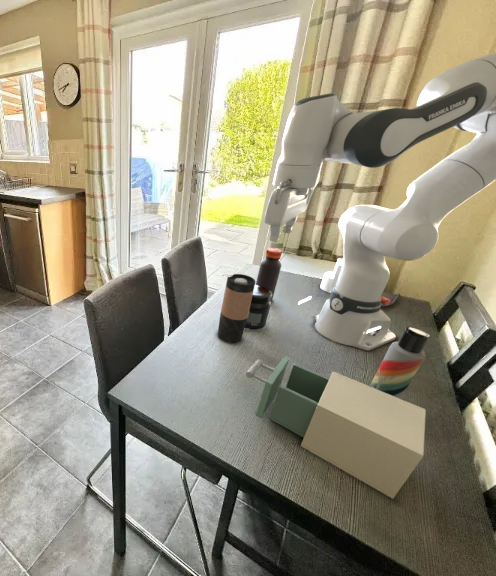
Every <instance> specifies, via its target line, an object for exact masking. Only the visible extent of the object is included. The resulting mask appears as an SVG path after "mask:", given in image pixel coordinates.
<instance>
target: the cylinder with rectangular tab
mask: <svg viewBox="0 0 496 576" xmlns="http://www.w3.org/2000/svg"><path fill="white" fill-rule="evenodd" d="M342 263H343V258H339V257H338V258H337V260H336V263H335V266H334V269H333V271H326V272H324V274H323V277H322V280H321V283H320V286H319V288H320V289H321V290H322V291H324V292H325V293H329V294H330V293H331V291H332V289H333V288H334V287H335V286H336V283H337V280H338V277H339V274H340V271H341V268H342Z"/></svg>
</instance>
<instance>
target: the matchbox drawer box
mask: <svg viewBox="0 0 496 576" xmlns="http://www.w3.org/2000/svg"><path fill="white" fill-rule="evenodd" d="M329 378H330V379H329V381H328V383H327V385H326V388H325V390H324V392H323V394H322V396H321V399H320V401H319V403H318V405H317V408H316V410H315V412H314V415H313V417H312V419H311V422H310V424H309V427H308V429H307V431H306V434H305V436H304V438H303V439H302V441H301V443H300V447H302V448H304V449H305V450H307V451H308V452H310V453H312V454H314V455H316V456H317V457H319V458H321V459H322V460H325V461H326V462H328V463H329V464H331V465H333V466H335V467H336V468H338V469H340V470H342V471H344V472H345V473H347V474H348V475H350V476H352V477H353V478H356V479H357V480H359V481H361V482H363V484H366V485H368V486H370V487H371V488H373V489H374V490H377V491H378V492H380V493H381V494H383V495H385V496H387V497H389V498H391V499H393V500H394V499H395V497H396V495H397V494H398V493H399V491H400V490H401V488H402V487H403V486H404V485H405V483H406V482H407V481H408V478H410V476H411V475H412V473H413V472H414V470H415V469H416V467H417V466H418V465H419V463H420V462H421V460H422V459H423V458H424V454H425V453H424V451H425V434H426V433H425V432H426V414H427V413H426V411H427V409H426V408H423V407H422V406H421V407H420V406H418V405H416V404H414V403H411V402H409V401H407V400H405V399H404V400H403V399H402V398H401V399H399V398H396V397H394V396H392V395H389V394H387V393H384V392H382V391H379V390H377V389H375V388H372V387H370V385H368V384H365V383H362V382H360V381H358V380H355V379H353V378H350V377H348V376H345V375H343V374H340V373H338V372H335V371H332V373H331V374H330V376H329Z"/></svg>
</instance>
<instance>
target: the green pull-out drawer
mask: <svg viewBox="0 0 496 576" xmlns="http://www.w3.org/2000/svg"><path fill="white" fill-rule="evenodd" d="M289 361H290V358H289V357H287V356H283V357H282V358H281V360H280V361H279V362H278V364H277V365H276V366H275V368H274V367H272V366H270V365H267V364H265V363H264V362H263V360H261V359H256V360H255V361H254V363H253V364H252V365H251V366H250V367H249V369H248V370H247V371H246V372H245V376H246V377H247V378H249V379H252V378H254V379H256V380H258V381H259V382H261V383H264V387H263V389H262V393H261V398H260V400H259V404H258V406H257V410H256V413H255V415H256V416H257V417H259V418H261V419H262V418H263V416H264V415H265V413H266V412H267V410H268V409H269V407H270V406H271V403H272V402H273V400H274V403H273V406H272V408H271V411H270V413H269V414H270V415H269V417H268V419H269V420H271V421H273V422H274V423H276V424H278V425H280V426H282V427H284V428H285V429H287V430H288V431H290V432H293V433H295V434H296V435H298V436H300V437H301V438H303V439H304V436H305V434H306V431H307V429H308V427H309V424H310V422H311V419H312V417H313V415H314V412H315V410H316V408H317V405H318V403H319V401H320V399H321V396H322V394H323V392H324V390H325V388H326V385H327V383H328V381H329V379H330V377H327V376H325V375H323V374H321V373H318V372H316V371H313V370H312V369H309V368H307V367H304V366H303V365H300V364H297V363H293V365H292V368H291V371H290V374H289V376H288V380H287V383H286V385H282V383H283V380H284V377H285V374H286V370H287V368H288V364H289ZM261 368H263V369H266V370H268V371H270V372H271V374H270V375H269V376H268V378H263V377H262V376H259V375H257V373H258V371H259V370H260V369H261Z"/></svg>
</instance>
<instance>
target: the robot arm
mask: <svg viewBox="0 0 496 576" xmlns="http://www.w3.org/2000/svg"><path fill="white" fill-rule="evenodd" d="M451 128H455V129H457V130H459V131H462V132H472V133H475V134H476V135H475V137H474V138H473V139H472V140H471V141H470V142H469V143H467V144H466V145H464V146H462V147H461V148H459V149H457V150H455V151H454V152H452V153H450V155H448V156H446V157H445V158H444V159H442V160H440V161H439V162H438V163H436V164H435V165H433V167H431V168H430V169H428V170H427V171H425V172H424V173H422V175H420V176H418V177H417V178H416V179H414V180H413V181H412V182H411V183H410V184H409V185H408V187H407V189H406V198H407V199H406V200H405V201H403V203H402V204H401V205H400V206H398V207H397V208H394V209H391V208H388V207H384V206H379V205H375V204H358V205H353V206H351V207H350V208H348V209H347V210H345V211H344V212H343V213H342V214H341V216H340V218H339V220H338V223H337V224H338V225H337V226H338V230H339V232H340V234H341V237H342V259H343V263H342V268H341V271H340V274H339V277H338V280H337V283H336V286H335V287H334V288H333V289H332V291H331V293H329V297H328V298H327V299H326V300H325V302H324V304H323V306H322V308H321V310H320V312H319V314H316V315H315V317H314V318H315V322H314V328H315V330H316V332H318V334H320V335H321V336H323V337H325V338H327V339H328V340H330V341H333V342H335V343H338V344H340V345H341V344H342V345H346V346H349V347H351V346H352V347H355V348H358V349H360V350H364V351H371V350H374V349H376V348H379V347H380V346H383V345H385V344H387V343H391V342H392V341H395V340H396V338H397V336H396V334H395V333H394V332H393V331H391V330H390V327H391V325H392V320H391V318H390V317H389V316H388V315H387V314H386V313H385V311H383V310H382V308H388V307H391V306H393V305H394V304H395V303H396V301H397V300H398V299H399V297H400V296H401V293H399V292H398V293H396V295H397V296H395V297H394V298H393V300H392V301H391V299H390V298H387V297H385V296H382V295H383V294H384V291H385V288H386V286H387V285H388V282H389V280H390V275H391V273H390V268H389V267H388V265H387V262H386V258H390V259H394V260H400V261H405V262H406V261H407V262H409V261H412V262H413V261H415V260H419V259H421V258H423V257H425V256H427V255H428V254H429V253H431V251H432V250H434V248H435V247H436V245H437V243H438V241H439V226H440V225H441V223H442V222H443V220H444V219H445V218H446V217H447V216H448V215H449V214H450V213H451V212H452V211H454V210H455V209H456V208H458V207H459V206H461V205H462V204H463V203H465V202H466V201H468V200H470V199H471V198H472V197H474V196H475V195H476V194H478V193H480V192H481V191H482V190H484V189H485V188H487V187H488V186H490V185H491V184H493V183H494V182H495V181H496V51H495V52H492V53H488V54H484V55H481V56H478V57H475V58H473V59H471V60H467V61H465V62H463V63H460V64H457V65H455V66H452V67H451V68H449V69H447V70H445V71H443V72H441V73H440V74H438V75H436V76H435V77H432V79H430V80H429V81H428V82H427V83H426V84H425V85H424V87H423V88H422V90H421V92H420V94H419V95H418V99H417V101H416V106H414V107H412V108H401V107H393V108H386V109H380V110H374V111H372V110H371V111H361V112H355V111H354V110H351V109H349V108H348V107H346V106H345V105H344V104H343V103H341V101H340V100H339V98H338V95H337V94H336V93H324V94H319V95H314V96H308V97H305V98H302V99H300V100H298V101H297V102H296V103H295V104H294V105H293V107H292V108H291V111H290V113H289V115H288V118H287V121H286V125H285V129H284V132H283V137H282V141H281V153H280V156H279V158H278V160H277V163H276V168H275V171H274V172H275V173H274V177H273V181H272V185H273V186H275V187H277V188H275V189H273V191H271V194H270V197H269V200H268V202H267V206H266V210H265V213H264V219H263V220H264V224H265V225H269V226H270V227H269V228H270V236H269V241H270V242H274V243H276V242H278V241H279V240H281V235H282V233H281V230H282V232H283V233H284V234H290V233H292V232H293V229H294V226H295V225H296V224H295V223H296V222H297V220H298V216H300V215H301V214H303V213H305V212H306V210H307V208H308V206H309V204H310V201H311V199H312V195H313V193H314V190H315V188H316V187H317V185H318V184H319V182H320V178H321V170H322V166H323V164H324V161H326V162H334V163H340V164H349V165H357V166H361V167H364V168H371V169H375V168H380V167H384V166H386V165H388V164H391V163H392V162H394V161H395V160H396V159H398V158H399V157H401V156H402V155H403V154H405V153H406V152H407V151H409V150H410V149H411V148H412V147H414V146H416V145H418V144H419V143H421V142H424V141H425V140H427V139H430V138H432V137H434V136H436V135H438V134H440V133H443V132H445V131H447V130H449V129H451ZM282 228H283V229H282ZM312 298H313V297H312V295H309V296H308V297H306V298H304V299H301V300H299V301H298V303H297V305H301V304H303V303H305V302H308V301H310V300H312Z"/></svg>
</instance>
